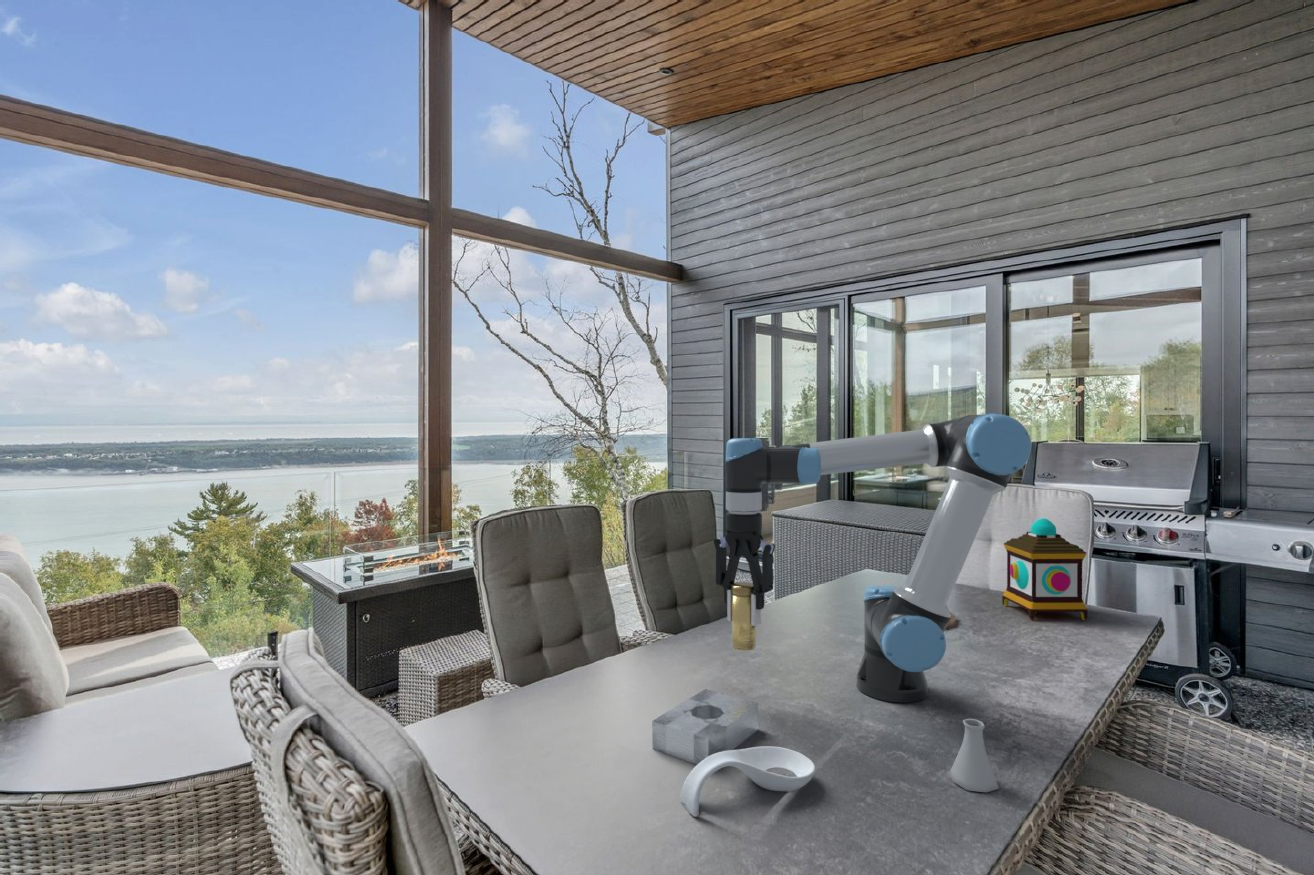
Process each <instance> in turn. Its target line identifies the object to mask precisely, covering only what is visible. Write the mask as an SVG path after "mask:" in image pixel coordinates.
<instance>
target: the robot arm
mask: <svg viewBox="0 0 1314 875" xmlns="http://www.w3.org/2000/svg"><path fill="white" fill-rule="evenodd" d="M762 442H763V441H762V439H761V438H749V437H748V438H746V437H745V438H743V437H742V438H731V439H728V441H727V442H726V448H725V449H726V451H725V510H726V511H727V512H726V513H725V528H726V533H725V536H723V537H718V538H715V539H713V544H714V548H715V584H716V585H717V586H721V587H723V598H724V599H723V602H724V604H727V605H726V606H727V607H726V608H727V610H726V612H727V622H732V584H733V583H735V580H736V578H737V577H736V576H737V573H738V572H737V571H738V568H739V563H740V559H741V557H745V560H746V562H747V563H748V568H749V571H750V572H749V573H750V576H751V581H752V582H751V583H753V586H754V591H755V592H754V593H753V594H751V625H752V626H756V627H757V626H758V625H759V624H761V622H762V621H761V614H762V612H761V611H762V610H763V609H764V607H765V594H766V593H768V592H771V591H773V590H774V568H773V567H774V562H773V561H774V559H773V558H774V557H773V555H774V552H775V549H776V544H775V543H773V542H772V543H769V542H766V541H765V540H764V537H763V535H762V531H763V514H762V513H761V512H760V511H761V510H762V509H763V503H762V502H763V501H762V500H763V494H762V491H763V488H762V487H763V484H784V485H785V484H788V485H794V484H795V485H797V484H798V485H802V486H804V485H808V484H809V485H811V484H817V483H819V482H820V480H821V476H823V475H825V476H826V475H832V474H833V475H834V474H842V473H852V472H860V471H861V472H862V471H869V470H880V469H889V468H898V467H905V466H906V467H907V466H915V465H926V464H927V465H928V466H929V467H931V468H938V467H945V470H946V472H947V474H948V476H949V477H948V481H947V483H946V486H945V488H944V491H943V493H942V494H941V497H940V500H939V503H938V505H937V507H936V509H935V512H934V514H933V517H932V518H931V521H930V524H929V526H928V528H927V530H926V533H925V536H924V538H923V540H922V542H921V545H920V547H919V549H918V552H917V555H916V557H915V559H914V562H913V564H912V566H911V569H910V570H909V573H908V576H907V578H906V580H905V583H904V584H903V585H901V586H895V585H893V586H892V585H876V586H875V585H874V586H870V587H867V588H866V589H865V591H864V598H863V602H864V608H863V612H864V617H863V618H864V628H863V629H864V632H863V633H864V649H863V650H864V652H863V655H862V658H861V661H860V664H859V667H858V670H857V672H856V687H857V690H858V691H859V692H861V693H863V694H864V695H866V696H868V697H872V698H874V699H878V700H880V701H887V702H893V703H914V702H918V701H922V700H924V699H926V698H927V696H928V693H929V692H928V691H929V688H928V687H929V686H928V680H927V678H926V677H927V676H926V675H925V672H924V671H928V670H931V669H933V668H934V667H936V666H937V665H938V664H939V663H940V662H941V661H942V659H943V658H944V655H945V653H946V650H947V642H946V636H945V630H946V629H945V628H946V626H947V624H948V621H949V619H950V617H951V614H950V610H949V607H948V602H949V600H950V596H952V593H953V590H954V588H955V586H956V583H957V581H958V578H959V576H960V574H961V572H962V569H963V567H964V565H965V562H966V560H967V557H968V555H969V553H970V551H971V549H972V546H973V544H974V541H975V538H976V537H977V534H978V532H979V529H980V527H981V525H982V523H983V521H984V518H985V516H986V514H987V511H988V509H989V506H990V504H991V502H992V499H993V497H994V495H996V494H998V493H1000V492H1003V491H1006V488H1007V487H1008V484H1009V481H1011V480H1010V479H1011V477H1012V476H1013V473H1016V472H1018V471H1019V470H1021V469H1022V468H1023V467H1024V466H1025V465H1026V464H1027V463H1028V461H1029V459H1030V456H1031V453H1032V440H1031V437H1030V434H1029V433H1028V430H1027V428H1026V426H1024V425H1023V424H1022V423H1021V422H1020V421H1019V420H1018V419H1016V418H1014V417H1012V416H1009V415H1005V414H1000V413H996V412H990V413H984V414H969V415H965V416H961V417H957V418H953V419H950V420H949V419H948V420H945V421H941V422H935V423H929V424H927V423H926V424H925V425H924V426H923V427H922V429H916V430H915V429H913V430H906V431H900V432H899V431H897V432H891V433H883V434H881V433H880V434H875V435H874V434H873V435H864V436H858V437H849V438H842V439H840V438H839V439H832V440H825V441H816V442H815V441H814V442H809V443H800V444H785V445H780V446H778V447H773V448H772V447H764V445H763V443H762ZM727 546H728V547H729V553H728V554H727V551H728V550H727ZM760 548H761V549H760ZM759 550H761V552H762V556H761V565H760V555H759ZM727 556H728V558H727ZM727 559H728V560H727ZM727 562H728V564H727Z"/></svg>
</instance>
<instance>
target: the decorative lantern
mask: <svg viewBox="0 0 1314 875" xmlns="http://www.w3.org/2000/svg"><path fill="white" fill-rule="evenodd" d="M1003 546H1004V548H1005V551H1006V554H1007V555H1006V560H1007V562H1006V567H1007V568H1006V574H1007V575H1006V577H1007V578H1006V579H1007V580H1006V584H1007V585H1006V589H1005V590H1004V592H1003V595H1002V596H1001V598H1002V599H1001V600H1002V602H1001V603H1002V605H1003V606H1004V607H1008V606H1009V602H1010V603H1013V604H1015V605H1017V606H1019V607H1021V608H1023V609H1025V610H1026V611H1027V612H1028V617H1029V620H1030V621H1034V620H1035V618H1036V617H1035V616H1036V614H1037V613H1041V612H1043V613H1048V612H1050V613H1052V612H1056V613H1058V612H1059V613H1060V612H1061V613H1062V612H1065V613H1067V612H1068V613H1069V612H1071V613H1072V612H1076V613H1077V612H1078V613H1079V612H1080V618H1081V620H1082V621H1087V619H1088V615H1089V614H1088V613H1089V611H1088V608H1087V606H1086V603H1084V600H1083V561H1084V559H1085V557H1086V555H1087V551H1084V549H1083V548H1082V547H1079V545H1078V544H1073V543H1071V542H1069V541H1067V540H1066V539H1065V538H1064V537H1062V535H1061V534H1058V533H1057V527H1056V526H1055V524H1054V523H1053V522H1052V521H1051V520H1049V519H1047V518H1044V517H1043V518H1039V519H1036V520H1035V521H1034V522H1033V523H1032V524H1031V526H1030V531H1026V533H1024V534H1022V535H1021V536H1019V537H1016V538H1015V537H1014V538H1013V537H1012V538H1010V539H1009V540H1007V541H1006V542H1004V543H1003Z"/></svg>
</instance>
